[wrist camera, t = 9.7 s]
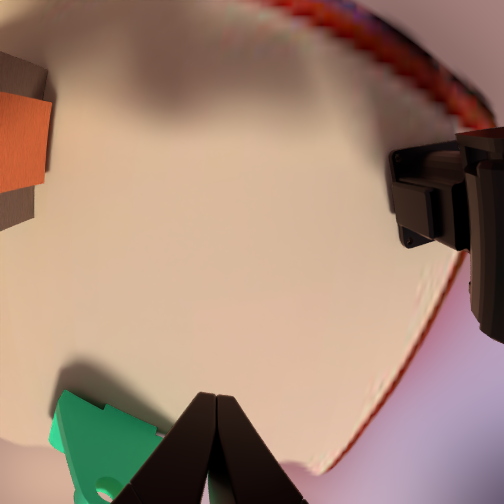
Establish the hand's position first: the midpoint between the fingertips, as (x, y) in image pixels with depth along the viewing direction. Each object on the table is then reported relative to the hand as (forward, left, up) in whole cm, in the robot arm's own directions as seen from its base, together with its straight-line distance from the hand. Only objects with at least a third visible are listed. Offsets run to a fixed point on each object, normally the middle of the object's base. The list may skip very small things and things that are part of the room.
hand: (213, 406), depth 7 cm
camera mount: (+14, +14, -13) cm, 24 cm away
